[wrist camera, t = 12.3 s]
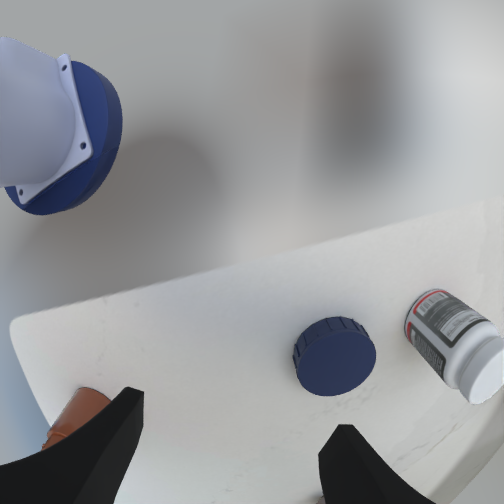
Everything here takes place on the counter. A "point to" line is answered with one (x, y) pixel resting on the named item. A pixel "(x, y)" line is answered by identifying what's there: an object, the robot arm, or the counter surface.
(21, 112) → the robot arm
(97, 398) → the jar
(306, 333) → the lid
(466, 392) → the pill bottle
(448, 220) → the counter surface
